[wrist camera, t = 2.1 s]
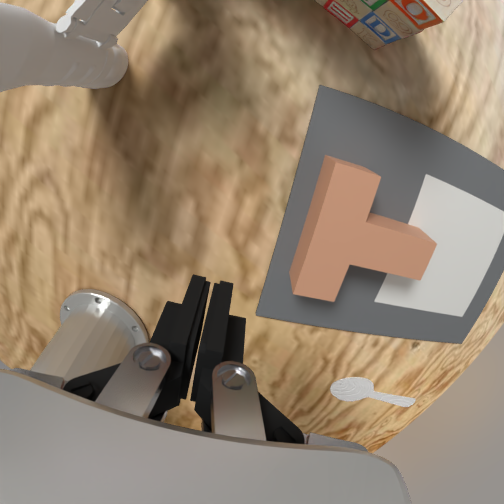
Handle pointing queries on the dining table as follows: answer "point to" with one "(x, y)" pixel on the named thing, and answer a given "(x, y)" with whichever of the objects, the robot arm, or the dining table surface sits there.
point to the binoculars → (65, 45)
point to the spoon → (364, 391)
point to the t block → (352, 234)
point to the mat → (403, 210)
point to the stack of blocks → (389, 17)
